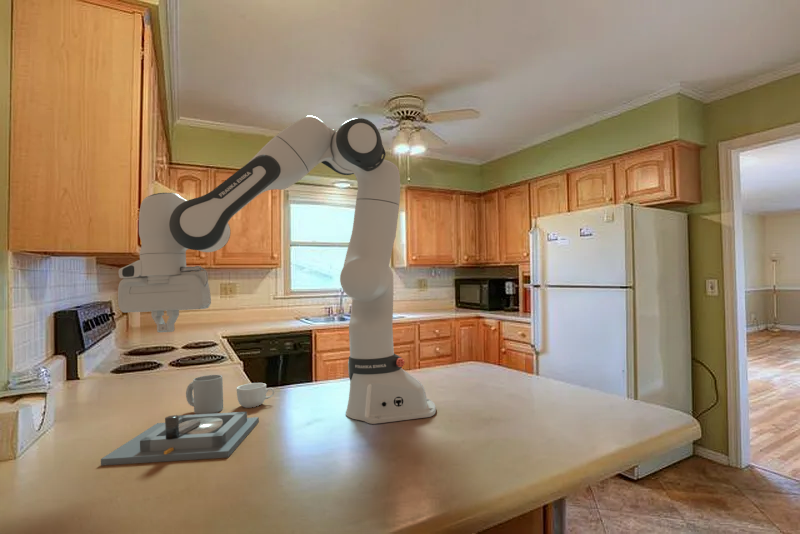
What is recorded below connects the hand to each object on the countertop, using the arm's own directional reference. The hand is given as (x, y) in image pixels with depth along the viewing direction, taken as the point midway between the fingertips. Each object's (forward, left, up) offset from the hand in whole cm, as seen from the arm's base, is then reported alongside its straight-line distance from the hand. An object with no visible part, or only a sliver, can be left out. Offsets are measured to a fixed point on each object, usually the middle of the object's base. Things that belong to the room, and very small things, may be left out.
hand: (165, 332), depth 93 cm
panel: (-4, -1, -24) cm, 24 cm away
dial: (-5, +1, -23) cm, 23 cm away
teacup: (-11, -27, -24) cm, 38 cm away
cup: (+2, -24, -24) cm, 34 cm away
